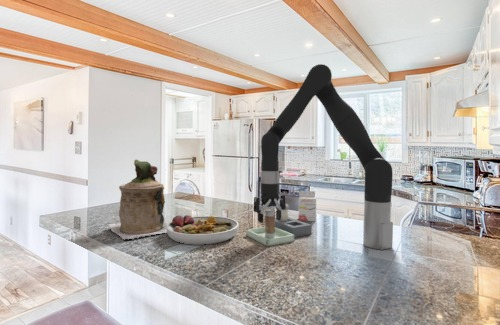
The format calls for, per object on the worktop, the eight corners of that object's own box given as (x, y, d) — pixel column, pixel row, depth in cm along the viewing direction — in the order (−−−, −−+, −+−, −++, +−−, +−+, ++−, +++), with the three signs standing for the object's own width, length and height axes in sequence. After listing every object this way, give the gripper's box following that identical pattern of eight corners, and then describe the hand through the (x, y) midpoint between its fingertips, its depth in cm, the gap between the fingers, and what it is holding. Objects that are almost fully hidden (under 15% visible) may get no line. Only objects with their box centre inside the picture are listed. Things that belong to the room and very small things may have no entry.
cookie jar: (123, 242, 117) (121, 161, 115) (106, 229, 136) (104, 159, 134) (180, 231, 133) (180, 159, 131) (158, 220, 151) (157, 158, 150)
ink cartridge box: (299, 220, 151) (299, 192, 150) (298, 218, 156) (298, 190, 155) (316, 221, 150) (316, 192, 149) (315, 219, 155) (315, 191, 154)
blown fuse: (276, 237, 121) (276, 210, 121) (268, 239, 119) (268, 211, 119) (271, 235, 125) (271, 209, 124) (263, 236, 123) (263, 210, 122)
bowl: (246, 229, 137) (246, 212, 137) (224, 250, 108) (224, 229, 108) (187, 224, 145) (187, 208, 144) (151, 243, 116) (151, 224, 116)
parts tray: (294, 241, 118) (294, 234, 118) (267, 246, 112) (267, 240, 112) (271, 231, 132) (271, 225, 132) (246, 235, 126) (246, 229, 125)
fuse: (290, 228, 136) (290, 205, 135) (283, 230, 134) (283, 206, 133) (284, 226, 139) (285, 203, 139) (277, 228, 137) (278, 204, 137)
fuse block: (311, 233, 128) (311, 224, 128) (293, 237, 123) (293, 227, 123) (286, 224, 144) (286, 216, 143) (268, 227, 139) (268, 218, 138)
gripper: (260, 183, 114) (259, 225, 115) (289, 181, 121) (289, 221, 122) (250, 182, 120) (250, 221, 121) (278, 180, 128) (278, 217, 128)
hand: (269, 221), depth 122 cm, fingers open, 8 cm apart
